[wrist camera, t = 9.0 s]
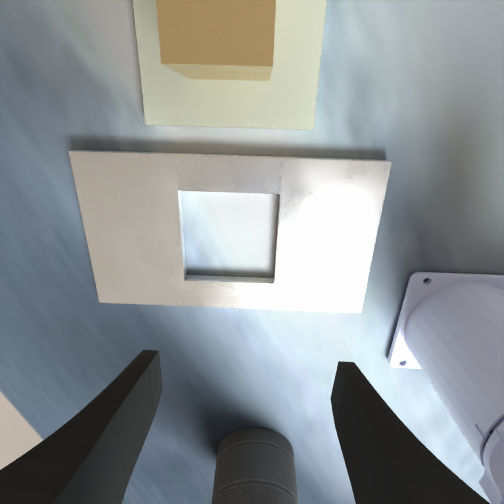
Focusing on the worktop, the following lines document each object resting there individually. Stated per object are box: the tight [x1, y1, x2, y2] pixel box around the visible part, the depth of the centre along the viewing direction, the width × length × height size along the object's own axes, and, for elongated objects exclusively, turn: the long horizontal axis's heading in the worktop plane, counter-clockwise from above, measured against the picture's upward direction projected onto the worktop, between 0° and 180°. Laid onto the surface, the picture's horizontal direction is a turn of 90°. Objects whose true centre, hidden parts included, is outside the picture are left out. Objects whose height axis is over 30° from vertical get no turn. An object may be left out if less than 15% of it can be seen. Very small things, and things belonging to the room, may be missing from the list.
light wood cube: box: [156, 0, 276, 81], centre depth 12 cm, size 4×4×5 cm
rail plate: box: [68, 150, 392, 313], centre depth 19 cm, size 18×10×1 cm, turn 88°
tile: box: [133, 0, 327, 130], centre depth 15 cm, size 9×9×1 cm
